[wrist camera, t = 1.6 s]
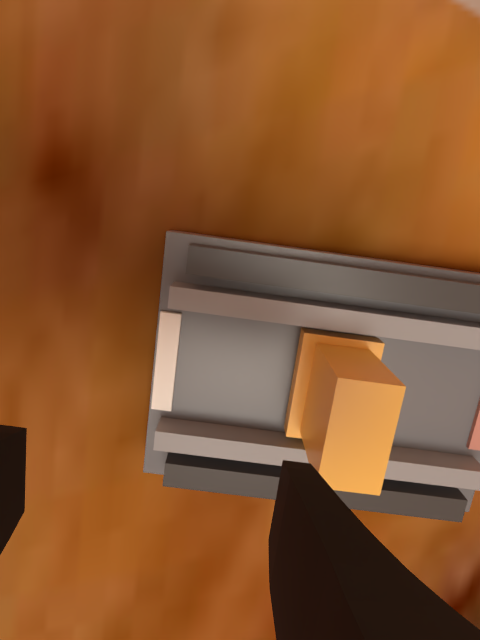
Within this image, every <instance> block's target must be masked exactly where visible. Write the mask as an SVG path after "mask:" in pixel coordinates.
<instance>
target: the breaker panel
mask: <svg viewBox="0 0 480 640" xmlns="http://www.w3.org/2000/svg"><path fill="white" fill-rule="evenodd" d="M301 328H309V329H316V330H324V331H331V332H339V333H346V334H354V335H361V336H369V337H376V338H379V339H380V340H381V341H382V342H384V343H385V345H384V349H383V354H382V358H381V362H382V363H383V364H384V365H385V366H386V367H387V368H388V369H389V370H390V371H391V372H392V373H393V374H394V375H395V376H396V377H397V378H398V379H399V380H400V381H401V382H402V383H403V384H404V385H405V386H406V390H405V394H404V398H403V402H402V406H401V410H400V414H399V419H398V423H397V427H396V431H395V435H394V439H393V444H392V448H391V452H390V456H389V460H388V464H387V469H386V473H385V477H384V481H383V485H382V489H381V494H380V496H378V495H370V494H362V493H354V492H346V491H337V490H334V492H335V493H336V494H337V495H338V496H339V497H340V499H341V500H342V501H343V502H344V503H345V504H346V506H347V507H348V508H349V509H356V510H364V511H372V512H381V513H389V514H397V515H405V516H414V517H422V518H430V519H438V520H447V521H455V522H462V519H463V516H464V512H469V509H470V506H471V502H472V499H473V495H474V492H475V490H479V491H480V273H478V272H471V271H464V270H456V269H449V268H442V267H435V266H428V265H420V264H413V263H406V262H399V261H392V260H385V259H377V258H370V257H363V256H356V255H349V254H341V253H334V252H327V251H320V250H313V249H306V248H298V247H291V246H284V245H277V244H270V243H262V242H255V241H248V240H241V239H234V238H227V237H219V236H212V235H205V234H198V233H191V232H183V231H176V230H170V231H166V239H165V250H164V260H163V271H162V281H161V291H160V302H159V312H158V323H157V333H156V344H155V354H154V365H153V375H152V385H151V396H150V406H149V417H148V427H147V438H146V448H145V459H144V469H143V472H146V473H154V474H163V475H164V478H163V486H167V487H175V488H183V489H191V490H200V491H208V492H216V493H224V494H232V495H241V496H249V497H257V498H265V499H274V500H276V495H277V490H278V484H279V478H280V473H281V467H282V462H283V460H287V461H295V462H303V463H309V462H308V458H307V455H306V451H305V448H304V444H303V440H302V439H301V438H293V437H286V435H285V430H284V424H285V418H286V412H287V406H288V401H289V395H290V389H291V384H292V378H293V372H294V366H295V361H296V355H297V349H298V344H299V338H300V332H301Z"/></svg>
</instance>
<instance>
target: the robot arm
mask: <svg viewBox="0 0 480 640" xmlns="http://www.w3.org/2000/svg"><path fill="white" fill-rule="evenodd" d="M26 429H27V428H21V427H13V426H5V425H0V554H1V553H2V551H3V549H4V547H5V546H6V544H7V542H8V540H9V539H10V537H11V535H12V533H13V531H14V530H15V528H16V526H17V524H18V522H19V520H20V518H21V516H22V515H23V513H24V508H25V469H26ZM269 582H270V594H271V602H272V610H273V617H274V625H275V632H276V640H480V630H479V629H478V628H477V627H475V626H474V625H473V624H471V623H470V622H469V621H468V620H466V619H465V618H464V617H463V616H461V615H460V614H459V613H458V612H456V611H455V610H454V609H453V608H452V607H450V606H449V605H448V604H447V603H446V602H445V601H443V600H442V599H441V598H440V597H439V596H438V595H436V594H435V593H434V592H433V591H432V590H431V589H429V588H428V587H427V586H426V585H425V584H424V583H422V582H421V581H420V580H419V579H418V578H417V577H416V576H415V575H414V574H412V573H411V572H410V571H409V570H408V569H407V568H406V567H405V566H404V565H403V564H402V563H401V562H400V561H399V560H398V559H397V558H396V557H395V556H394V555H393V554H392V553H391V552H390V551H389V550H388V549H387V548H386V547H385V546H384V545H383V544H382V543H381V542H380V541H379V540H378V539H377V538H376V537H375V536H374V535H373V534H372V533H371V532H370V531H369V530H368V529H367V528H366V527H365V526H364V525H363V523H362V522H361V521H360V520H359V519H358V518H357V517H356V516H355V515H354V514H353V512H352V511H351V510H350V509H349V508H348V507H347V506H346V504H345V503H344V502H343V501H342V500H341V499H340V497H339V496H338V495H337V494H336V493H335V492H334V490H333V489H332V488H331V487H330V486H329V484H328V483H327V482H326V481H325V480H324V479H323V477H322V476H321V475H320V474H319V473H318V471H317V470H316V469H315V468H314V467H313V466H312V465H311V464H310V463H303V462H295V461H287V460H283V462H282V467H281V473H280V478H279V484H278V490H277V495H276V501H275V507H274V512H273V518H272V523H271V529H270V535H269Z"/></svg>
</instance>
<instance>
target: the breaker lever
mask: <svg viewBox="0 0 480 640" xmlns="http://www.w3.org/2000/svg"><path fill="white" fill-rule="evenodd" d="M384 345H385V343H384V342H382V341H381V340H380V339H379V338H376V337H369V336H361V335H354V334H346V333H339V332H331V331H324V330H316V329H309V328H301V332H300V338H299V344H298V349H297V355H296V361H295V366H294V372H293V378H292V384H291V389H290V395H289V401H288V406H287V412H286V418H285V424H284V430H285V435H286V437H293V438H301V439H302V440H303V444H304V448H305V451H306V455H307V458H308V462H309V463H310V464H311V465H312V466H313V467H314V468H315V469H316V470H317V471H318V473H319V474H320V475H321V476H322V477H323V479H324V480H325V481H326V482H327V483H328V484H329V486H330V487H331V488H332V489H333V490H337V491H346V492H354V493H362V494H370V495H378V496H380V494H381V489H382V485H383V481H384V477H385V473H386V469H387V464H388V460H389V456H390V452H391V448H392V444H393V439H394V435H395V431H396V427H397V423H398V419H399V414H400V410H401V406H402V402H403V398H404V394H405V390H406V386H405V385H404V384H403V383H402V382H401V381H400V380H399V379H398V378H397V377H396V376H395V375H394V374H393V373H392V372H391V371H390V370H389V369H388V368H387V367H386V366H385V365H384V364H383V363H382V362H381V358H382V354H383V349H384Z"/></svg>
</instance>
